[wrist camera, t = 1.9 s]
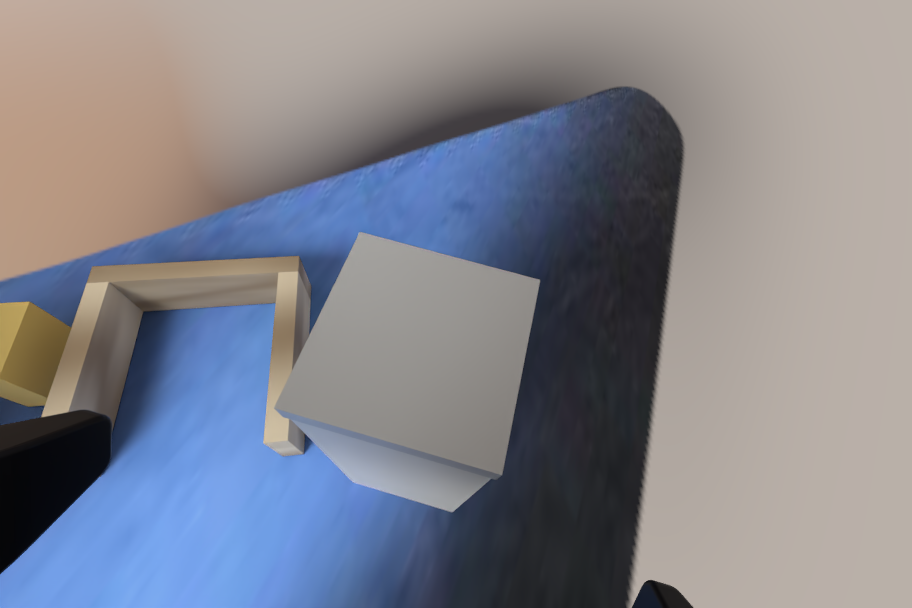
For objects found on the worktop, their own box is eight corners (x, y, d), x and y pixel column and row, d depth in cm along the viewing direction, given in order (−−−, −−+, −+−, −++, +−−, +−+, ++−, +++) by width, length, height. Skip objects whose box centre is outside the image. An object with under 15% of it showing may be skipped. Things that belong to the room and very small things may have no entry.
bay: (304, 453, 17) (287, 440, 15) (77, 479, 16) (23, 469, 14) (311, 286, 21) (299, 255, 18) (128, 297, 20) (92, 266, 17)
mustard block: (62, 403, 17) (-2, 378, 14) (28, 406, 17) (-43, 381, 14) (83, 335, 18) (29, 301, 16) (53, 337, 18) (-8, 303, 16)
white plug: (453, 513, 16) (502, 475, 7) (351, 483, 17) (274, 407, 7) (477, 411, 18) (540, 279, 9) (386, 385, 19) (360, 231, 9)
